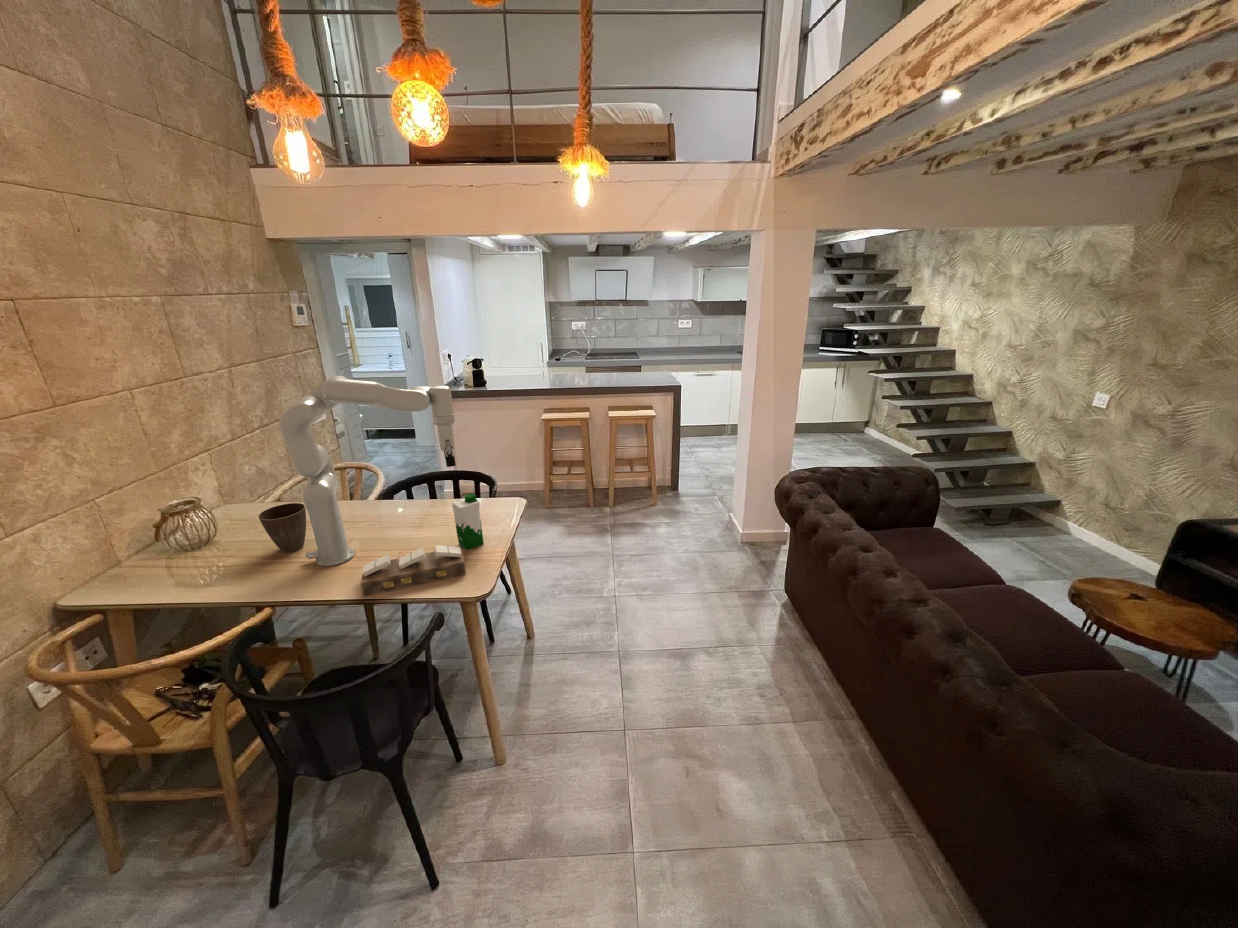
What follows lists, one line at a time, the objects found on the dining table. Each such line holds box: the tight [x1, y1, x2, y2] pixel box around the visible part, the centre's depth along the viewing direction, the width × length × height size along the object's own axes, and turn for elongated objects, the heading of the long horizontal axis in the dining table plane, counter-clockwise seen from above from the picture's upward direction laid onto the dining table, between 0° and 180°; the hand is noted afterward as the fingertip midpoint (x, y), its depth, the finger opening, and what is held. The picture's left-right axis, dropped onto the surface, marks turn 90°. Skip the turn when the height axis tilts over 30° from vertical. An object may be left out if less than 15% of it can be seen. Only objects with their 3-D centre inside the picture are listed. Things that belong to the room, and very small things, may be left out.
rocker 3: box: [434, 544, 461, 557], centre depth 169 cm, size 8×5×2 cm, turn 112°
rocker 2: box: [399, 547, 426, 569], centre depth 165 cm, size 8×5×2 cm, turn 112°
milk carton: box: [451, 493, 485, 551], centre depth 185 cm, size 9×9×20 cm
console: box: [360, 545, 467, 597], centre depth 166 cm, size 32×12×6 cm, turn 112°
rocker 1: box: [362, 553, 391, 576], centre depth 161 cm, size 8×5×2 cm, turn 112°
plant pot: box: [257, 502, 307, 554], centre depth 186 cm, size 15×15×16 cm
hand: (450, 462), depth 186 cm, fingers open, 9 cm apart
